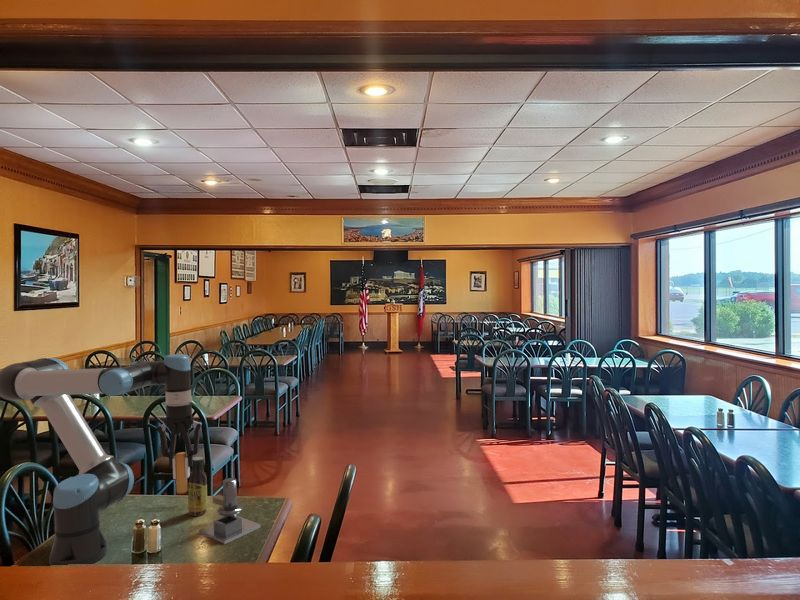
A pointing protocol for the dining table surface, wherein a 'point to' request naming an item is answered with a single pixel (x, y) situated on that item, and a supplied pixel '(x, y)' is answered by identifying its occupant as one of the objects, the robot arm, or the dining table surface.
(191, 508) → the sauce bottle
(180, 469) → the orange cylinder
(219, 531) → the socket block fixture
